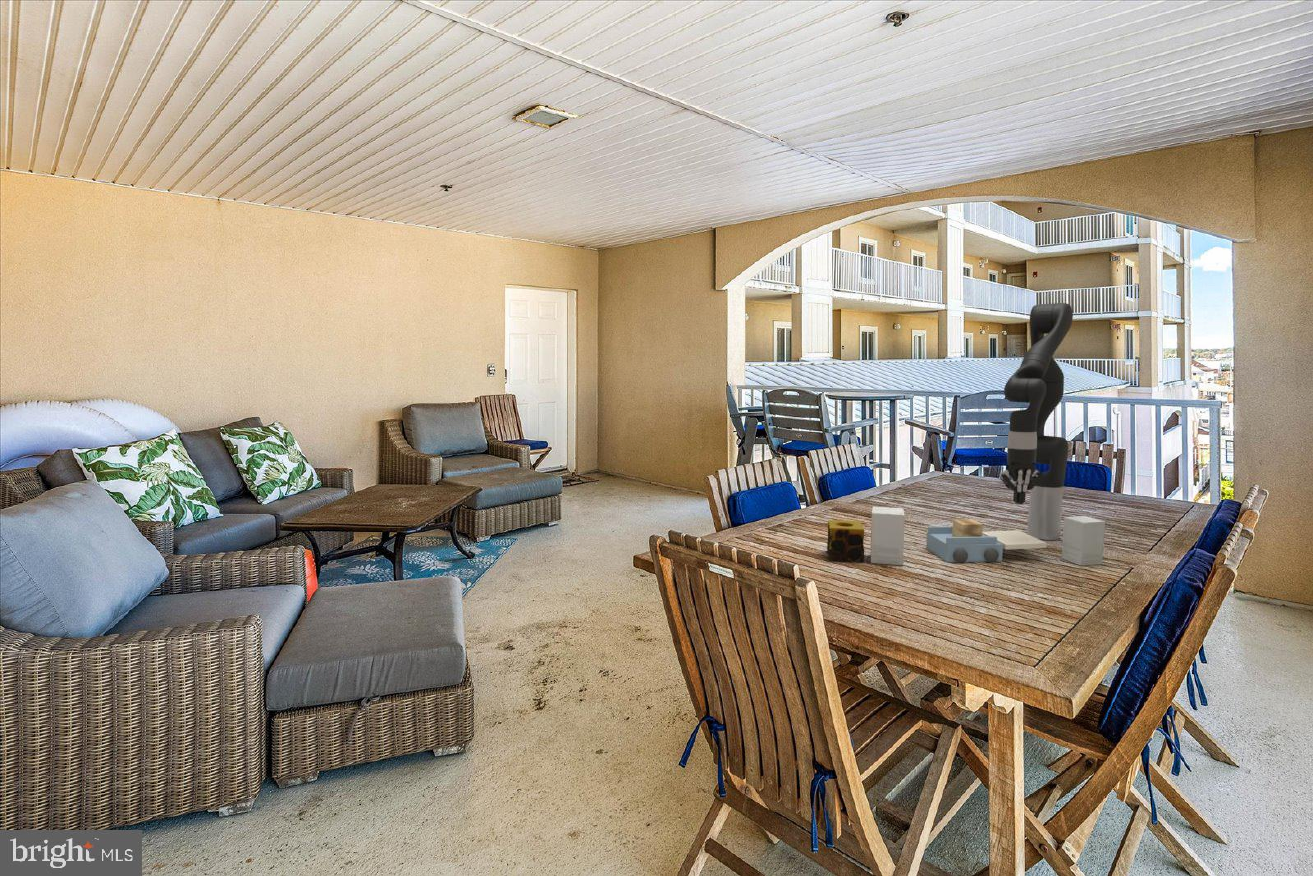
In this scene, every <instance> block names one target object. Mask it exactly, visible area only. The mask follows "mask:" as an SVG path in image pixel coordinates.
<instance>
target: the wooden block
mask: <svg viewBox="0 0 1313 876" xmlns="http://www.w3.org/2000/svg"><path fill="white" fill-rule="evenodd" d="M952 526H953V529H952V536H954V537H982V532H984V531H983V530H984V529H983V528H984V524H983V523H981V522H979V521H977V520H975V519H973V518H972V519H971V518H970V519H969V518H966V519H963V518H962V519H961V518H959V519H952Z"/></svg>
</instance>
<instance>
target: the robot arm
mask: <svg viewBox="0 0 1313 876" xmlns="http://www.w3.org/2000/svg"><path fill="white" fill-rule="evenodd" d="M1073 313H1074V312H1073V308H1072V305H1070V304H1069V303H1066V302H1057V303H1056V302H1054V303H1039V304H1035V305H1033V306H1032V308H1031V310H1030V313H1029V314H1030V315H1029V337H1030V347H1029V349H1028V350H1027V351H1026V353H1025V354H1024V356H1023V359H1022V361H1021V364H1020V366H1019V368H1017V369H1016V370H1015V372H1014V373H1013V374H1012V375H1011V377H1009V378H1008V380H1007V381H1006V383H1005V385H1004V389H1003V395H1004V397H1005V399H1006V400H1007V401H1009V402H1012V403H1025V404H1027V403H1028V404H1029V405H1028V406H1027V408H1024V409H1020V410H1019V409H1018V410H1013V411H1012V412H1011V413H1010V415H1009V416H1010V417H1009V431H1008V435H1007V451H1006V462H1007V464H1006V466H1005V470H1003V471H1002V472H998V474H997V477H998V478H999V479H1000V480H1001V482H1002V483H1003V484H1004V485H1005V487H1006V488H1007V489H1008V490H1011V491H1013V496H1012V497H1013V498H1012V500H1013V502H1014V504H1016V505H1024V503H1025V502H1026V494H1027V491H1029V501H1028V502H1029V506H1028V519H1027V532H1026V534H1028V535H1030V536H1032V537H1034V538H1037V539H1039V540H1042V541H1044V540H1045V541H1057V540H1060V538H1061V523H1062V511H1063V510H1062V509H1063V498H1064V496H1063V495H1064V483H1065V478H1066V471H1067V463H1068V457H1069V442H1068V441H1067V439H1066V438H1064V437H1062V436H1052V435H1045V434H1044V431H1045V426H1046V424H1047V423H1046V422H1047V420H1048V418H1049V417H1050V415H1051V414H1052V413H1053V411H1055V409H1056V408H1057V406H1058V405H1059V404H1060V403H1061V401H1062V399H1063V397H1064V393H1065V392H1064V391H1065V388H1064V387H1065V385H1064V384H1065V376H1064V372H1063V370H1062V369H1061V367H1060V366H1059V364H1058V363H1057V361H1056V360H1055V358H1054V357H1053V356H1054V354H1055V352H1056V351H1057V349H1058V348H1059V346H1060V345H1061V344H1062V342H1063V341H1064V338H1065V337H1066V336H1067V334H1068V332H1069V331H1070V329H1071V326H1072V324H1073V321H1074V314H1073ZM1045 334H1046V335H1045ZM1036 464H1040V465H1041V464H1042V465H1049V469H1048V470H1047V471H1044V472H1040V471H1039V470H1038V469H1037V467H1036V466H1037V465H1036ZM1010 478H1011V479H1010Z"/></svg>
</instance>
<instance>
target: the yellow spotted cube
mask: <svg viewBox="0 0 1313 876" xmlns="http://www.w3.org/2000/svg"><path fill="white" fill-rule="evenodd" d="M864 539H865V528H864V526H863V524H862V522H861V521H859V520H842V519H841V520H835V519H829V520H827V542H826V543H827V544H826V545H827V547H826V552H827V557H828V560H829V561H832V562H846V563H847V562H853V563H854V562H855V563H865V545H864V542H865V541H864Z"/></svg>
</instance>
